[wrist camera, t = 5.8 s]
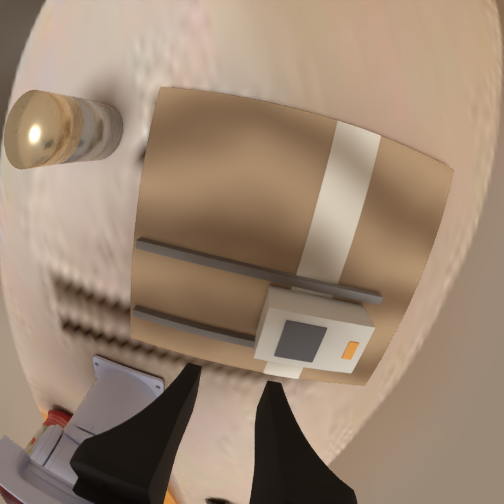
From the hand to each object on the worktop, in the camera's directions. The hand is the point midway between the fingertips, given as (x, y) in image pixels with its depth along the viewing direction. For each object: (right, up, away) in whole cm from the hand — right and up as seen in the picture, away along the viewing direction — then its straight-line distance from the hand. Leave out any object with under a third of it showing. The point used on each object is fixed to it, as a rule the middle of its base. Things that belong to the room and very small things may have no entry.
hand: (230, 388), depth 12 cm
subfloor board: (+3, +6, +8) cm, 10 cm away
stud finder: (+5, +1, +8) cm, 9 cm away
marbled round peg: (-10, +15, +5) cm, 19 cm away
